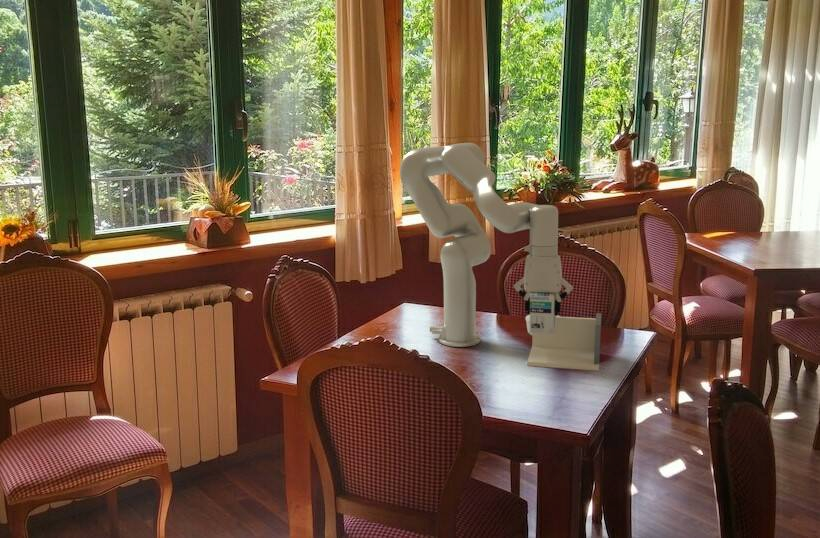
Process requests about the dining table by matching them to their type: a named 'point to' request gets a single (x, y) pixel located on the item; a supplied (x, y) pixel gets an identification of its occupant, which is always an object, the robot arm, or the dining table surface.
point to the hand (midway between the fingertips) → (542, 313)
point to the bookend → (597, 338)
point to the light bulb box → (542, 313)
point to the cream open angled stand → (566, 345)
